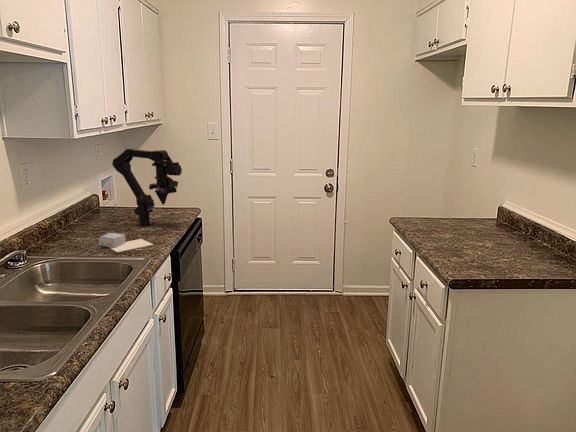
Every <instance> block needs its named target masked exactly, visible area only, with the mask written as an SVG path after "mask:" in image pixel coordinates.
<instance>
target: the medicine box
mask: <svg viewBox="0 0 576 432" xmlns="http://www.w3.org/2000/svg"><path fill="white" fill-rule="evenodd" d="M126 242H127V241H126V234H125V233H119V232H109V233H106V234H104V235H101V236H99V237H98V243H99V246H100V247H104V248H105V247H106V248H108V247H113V248H115V247H117V246H120V245H122V244H124V243H126Z"/></svg>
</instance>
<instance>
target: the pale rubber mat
mask: <svg viewBox="0 0 576 432" xmlns="http://www.w3.org/2000/svg"><path fill="white" fill-rule="evenodd" d="M150 246H154V243H151V242H149V241H146V240H145V239H143V238H139V239H135V240H134V239H133V240H129V241H126V243H124V244H122V245H120V246H117V247H115V248H113V247H109V248H108V249H110V248H111V249H110V250H112V251H114V252H115V253H120V252H121V253H122V252H126V251H130V250H135V249H140V248H145V247H150Z"/></svg>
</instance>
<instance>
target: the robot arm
mask: <svg viewBox="0 0 576 432" xmlns="http://www.w3.org/2000/svg"><path fill="white" fill-rule="evenodd" d="M133 158H141V159H149V160H151V161H153V163H152V164H151V166H152V167H155V176H154V179H155V180H156V182H155V183H154V182H153V183H150V184H149V186H148V187H149V190H153V189H155V191H154V193H155V194H156V196H157V197H158V199H159V201H160V202H161V205H162V206H164V205H165V204H166V201H167V197H168V195H169V194H174V193H177V188H178V185H179V181H177V180H173V178H171V177H170V176H173V177H174V176H177V177H178V176H181V174H182V171H183V169H182V167H181V165H180V162H178V161H176V162H174V161H172V158H171V157H170V156H169V153H168V152H167V150H165V149H161V150H144V149H137V148H136V149H135V148H126V149H125V150H124V151H123V152H122V153H120V154H119V155H118V156H117V157H115V158H114V159H113V160H112V163H111V165H112V167H113V169H115V170H116V172H117V173H119V174H120V175H122V176H123V179H124V180H125V182H126V183H127V185H128V186H129V188H130V190H131V192H132V194H133V195H134V196H135V198H136V199H135V200H136V206H137V207H136V208H135V209H134V210H133V212H134V215H137V216H138V217H137V218H138V222H136V223H135V224H136V225H137V226H140V227H145V226H152V225H153V222H151V221H150V220H151V219H150V213H152V212H153V209H154V207H155V199H153V198H152V196H151V194H146V193H145V192H144V190H143V189H142V187H141V185H140V184H139V182H138V180H137V178H136V176H135V175H134V174H133V172H132V168H131V167H132V165H131V162H132V160H133Z"/></svg>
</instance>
